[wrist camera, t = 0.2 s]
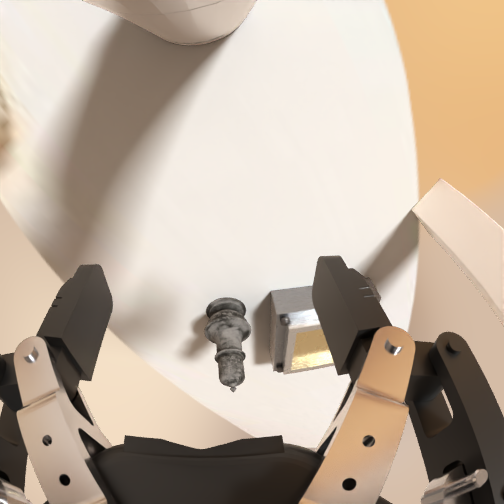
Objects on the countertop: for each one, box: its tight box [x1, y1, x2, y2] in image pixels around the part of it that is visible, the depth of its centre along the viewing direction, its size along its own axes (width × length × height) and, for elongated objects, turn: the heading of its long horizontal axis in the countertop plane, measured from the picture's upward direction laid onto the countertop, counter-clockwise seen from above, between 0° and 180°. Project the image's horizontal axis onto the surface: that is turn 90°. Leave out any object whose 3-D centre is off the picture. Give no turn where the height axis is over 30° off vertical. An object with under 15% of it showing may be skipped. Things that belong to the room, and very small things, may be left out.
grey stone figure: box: [205, 298, 251, 392], centre depth 33 cm, size 6×6×12 cm
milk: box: [412, 179, 504, 326], centre depth 22 cm, size 6×6×22 cm
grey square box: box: [270, 278, 381, 374], centre depth 39 cm, size 14×14×6 cm
